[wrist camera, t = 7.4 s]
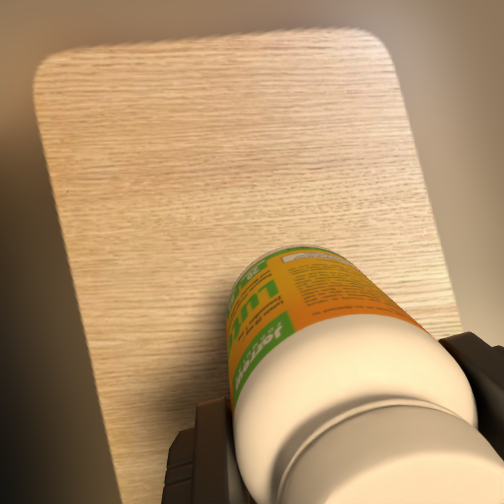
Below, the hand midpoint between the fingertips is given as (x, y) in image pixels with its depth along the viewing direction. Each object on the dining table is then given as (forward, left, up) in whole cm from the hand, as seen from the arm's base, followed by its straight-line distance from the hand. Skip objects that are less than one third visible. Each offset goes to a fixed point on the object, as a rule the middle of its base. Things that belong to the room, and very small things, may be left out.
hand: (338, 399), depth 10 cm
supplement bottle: (0, 0, -6) cm, 6 cm away
